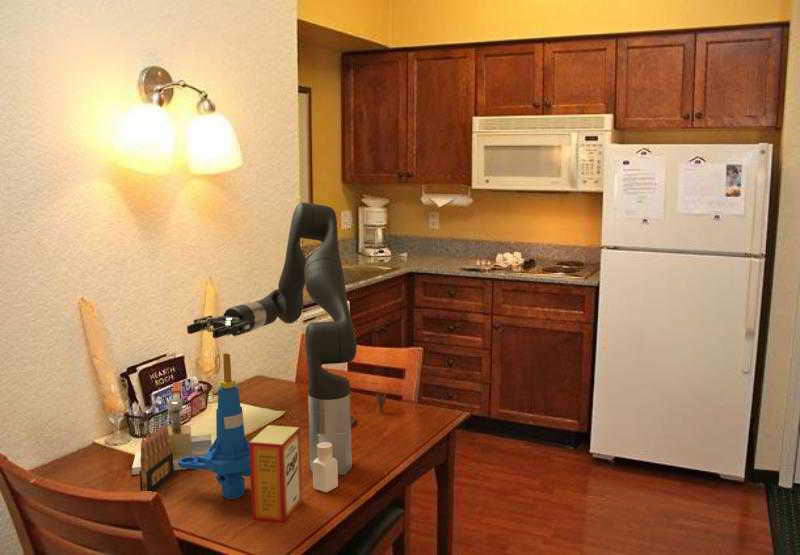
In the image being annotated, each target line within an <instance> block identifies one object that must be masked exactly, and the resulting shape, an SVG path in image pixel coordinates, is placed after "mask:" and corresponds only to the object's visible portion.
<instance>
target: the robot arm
mask: <svg viewBox="0 0 800 555" xmlns="http://www.w3.org/2000/svg"><path fill="white" fill-rule="evenodd" d="M337 218H338V217H337V214H336V211H335V209H334V208H333V207H330V206H328V205H323V204H317V203H311V202H306V201H305V202H299V203H297V205H296V206H295V208H294V211H293V213H292V217H291V222H290V228H289V231H288V232H289V234H288V239H287V245H286V246H287V247H286V253H285V260H284V264H283V268H282V271H281V274H280V277H279V281H278V284H277V285H278V288H277V289H273V290H272V291H271V292H270V293H269V294H268V295H267V296H264V297H263V298H262V299H260V300H256V301H253V302H246V303H242V304H240V305H234V306H232V307H229V308H228V309H227V308H226V310H225V311H224V314H223V315H218V316H214V317H213V315H207V316H204V317H203V316H202V317H200V318H195V319H193V323H191V324H188V325H186V331H187V334H189V335H191V334H195V333H198V332H203V331H205V332H206V331H207V332H208V333H212V337H213V339H218V338H221V337H224V336H226V337H227V336H228V337H229V336H233V337H237V336H241V335H245V334H247V333H250V332H252V331H256V330H258V329H259V328H262V327H265V326H267V325H270V324H273V323H274V322H276V320H277V319H280V320H281V322H283V323H284V324H293V323H296V321H298V320H299V319H300V318H301V316H302V313H303V310H304V288H305V289H306V292H307V294H308V295H309V297H310V298H311V300H313V301H314V302H315V303H316V305H318V306H319V307H320V308H322V309H323V310H324V311H325V312H326V313H327V314H328V315H329V316H330V317H331V319H332V321H315V322H309V323H308V324H307V325H306V328H305V332H304V333H305V334H304V337H305V338H304V340H305V341H304V343H305V355H306V363H307V365H306V366H307V368H306V369H307V397H308V398H307V400H308V401H307V402H308V405H307V406H308V438H309V441H308V442H309V464H310V467H309V468H310V470H311V472H312V473H313V461H314V460H315V459H317V458H318V455H317V445H318V444H319V443H322V442H328V443H331V444H332V452H333V453H332V457H333V458H335V459H336V460H337V465H338V476H343V475H344V476H345V475H347V474H348V472H349V471H351V469H352V467H353V465H352V464H353V461H352V460H353V458H352V427H351V415H352V414H351V384H350V380H349V379H348V378H346V377H345V376H342V375H339V374H335V373H332V372H330V371H328V370H326V369H325V368H323V365H335V364H346V363H350V362H352V361H353V360H354V359H355V358H356V355H357V350H358V349H357V339H356V338H357V337H356V332H355V328H354V327H355V326H354V324H353V320H352V316H351V312H350V308H349V304H348V297H347V291H346V282H345V275H344V268H343V265H342V260H341V254H340V253H341V252H340V247H339V234H338V219H337ZM301 239H305V240H312V241H319V242H321V245H320V246H319V247H318V248H317V249H316V250H314V251H313V253H312V254H310V256H309V257H308V259H306V256H305V254H304V252H303V249H302V245H301ZM211 327H212V328H211Z"/></svg>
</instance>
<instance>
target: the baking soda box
mask: <svg viewBox="0 0 800 555" xmlns="http://www.w3.org/2000/svg"><path fill="white" fill-rule="evenodd" d="M300 428H301V427H300V426H289V425H275V424H268V425H267V426H266V427H265V428H263V429H262V430H261V431H260V432H259V433H258V434H257V435H256V436H255V437H253V438H252V439H251V440H250V441H248V442H249V450H250V472H251V477H250V489H251V494H250V495H251V510H252V511H251V512H252V521H257V522H258V521H259V522H268V523H276V524H277V523H278V524H286V522H287V521H288V520H289V519H290V518H291V516H292V514H294V512H295V511H296V509H297V508H298V507H299V505H300V504H301V503H302V502H303V492H302V491H303V488H302V464H301V463H302V460H301V457H302V456H301V432H300V431H301V430H300Z"/></svg>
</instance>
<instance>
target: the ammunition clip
mask: <svg viewBox="0 0 800 555" xmlns="http://www.w3.org/2000/svg"><path fill="white" fill-rule="evenodd" d="M168 427H169V426H168V425H167V422H164V424H163V427H162V425H160V426H159V429H158V428H156V429H155V431H151V432H150V433H151V434H150V435H149V434H147V435H146V437H145V438H144V437H143V438H142V439H141V443H140V452H141V458H140V461H141V470H140V474H139V489H140V492H141V491H153V492H155V491H156V490H157V489H158V488H159V487H160V486H162V485H163V484H165V482H167V481H168V480H169V479H170V478H171V477H172V476H174V475H175V470H174V466H173V453H172V452H171V445H170V439H169V432H168ZM145 441H146V442H145ZM154 490H155V491H154Z"/></svg>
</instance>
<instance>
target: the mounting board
mask: <svg viewBox="0 0 800 555" xmlns="http://www.w3.org/2000/svg"><path fill="white" fill-rule="evenodd" d="M134 454H135V455H134V459H133V463H132V467H131V473H132V475H140V470H141V461H140V458H141V451H136V452H135V453H134ZM196 457H204V456H196ZM178 461H179V460H174V461H173V466H174V471H178V470H179V471H181V470H189V468H180V467H179V466H178ZM186 463H188V462H186Z"/></svg>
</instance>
